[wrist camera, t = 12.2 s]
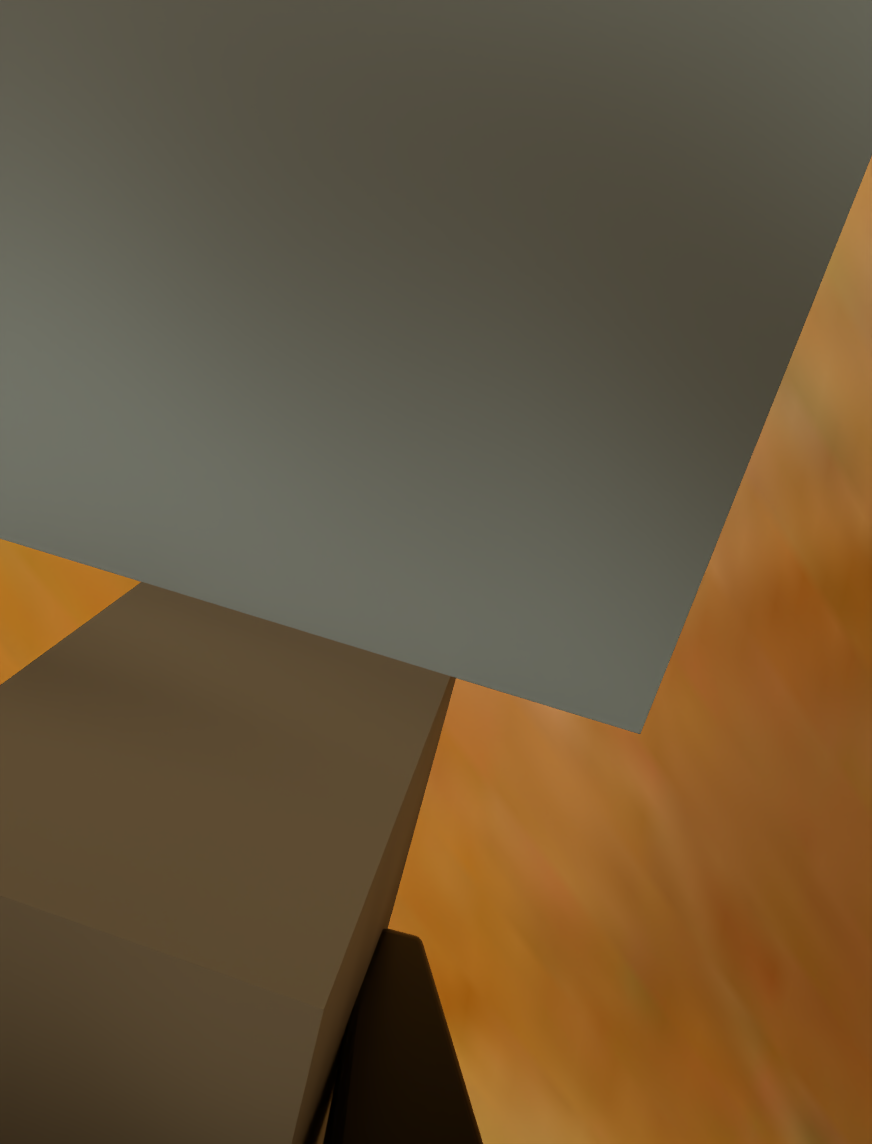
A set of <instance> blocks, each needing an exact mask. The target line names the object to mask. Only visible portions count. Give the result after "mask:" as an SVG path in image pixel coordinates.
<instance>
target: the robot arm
mask: <svg viewBox="0 0 872 1144" xmlns="http://www.w3.org/2000/svg"><path fill="white" fill-rule="evenodd" d="M323 1144H483V1142H482V1139H481V1135H480V1132H479V1129H478V1125H477V1122H476V1119H475V1115H474V1112H473V1109H472V1105H471V1102H470V1099H469V1095H468V1092H467V1089H466V1085H465V1082H464V1079H463V1076H462V1072H461V1069H460V1066H459V1062H458V1059H457V1056H456V1052H455V1049H454V1046H453V1042H452V1039H451V1036H450V1032H449V1029H448V1026H447V1022H446V1019H445V1016H444V1012H443V1009H442V1006H441V1002H440V999H439V996H438V992H437V989H436V986H435V982H434V979H433V976H432V972H431V969H430V966H429V962H428V959H427V956H426V952H425V949H424V946H423V943H422V941H421V939H420V938H419V937H417V936H414V935H410V934H406V933H403V932H399V931H395V930H391V929H386V928H385V929H383V930H382V933H381V935H380V938H379V940H378V943H377V946H376V948H375V951H374V954H373V956H372V959H371V962H370V964H369V967H368V969H367V972H366V975H365V977H364V980H363V983H362V985H361V988H360V990H359V993H358V996H357V998H356V1001H355V1004H354V1006H353V1009H352V1012H351V1015H350V1017H349V1020H348V1023H347V1026H346V1029H345V1034H344V1039H343V1044H342V1049H341V1054H340V1059H339V1064H338V1069H337V1074H336V1080H335V1085H334V1090H333V1095H332V1100H331V1105H330V1110H329V1115H328V1121H327V1126H326V1131H325V1136H324V1141H323Z"/></svg>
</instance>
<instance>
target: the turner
mask: <svg viewBox="0 0 872 1144" xmlns="http://www.w3.org/2000/svg"><path fill="white" fill-rule="evenodd" d="M871 156H872V0H0V539H4V540H7V541H10V542H13V543H17V544H20V545H23V546H26V547H30V548H33V549H36V550H40V551H43V552H46V553H49V554H53V555H56V556H59V557H62V558H66V559H69V560H72V561H76V562H79V563H82V564H85V565H89V566H92V567H95V568H98V569H102V570H105V571H108V572H112V573H115V574H118V575H121V576H125V577H128V578H131V579H134V580H138V581H141V583H140V584H138V585H137V586H135V587H134V588H133V589H131V590H130V591H129V592H127V593H126V594H125V595H123V596H122V597H120V598H119V599H118V600H116V601H115V602H114V603H112V604H111V605H109V606H108V607H107V608H105V609H104V610H103V611H101V612H100V613H98V614H97V615H96V616H94V617H93V618H92V619H90V620H89V621H88V622H86V623H85V624H83V625H82V626H81V627H79V628H78V629H77V630H75V631H74V632H72V633H71V634H70V635H68V636H67V637H66V638H64V639H63V640H62V641H60V642H59V643H57V644H56V645H55V646H53V647H52V648H51V649H49V650H48V651H46V652H45V653H44V654H42V655H41V656H40V657H38V658H37V659H35V660H34V661H33V662H31V663H30V664H29V665H27V666H26V667H25V668H23V669H22V670H20V671H19V672H18V673H16V674H15V675H14V676H12V677H11V678H9V679H8V680H7V681H5V682H4V683H3V684H1V685H0V1144H323V1141H324V1136H325V1131H326V1126H327V1121H328V1115H329V1110H330V1105H331V1100H332V1095H333V1090H334V1085H335V1080H336V1074H337V1069H338V1064H339V1059H340V1054H341V1049H342V1044H343V1039H344V1034H345V1029H346V1026H347V1023H348V1020H349V1017H350V1015H351V1012H352V1009H353V1006H354V1004H355V1001H356V998H357V996H358V993H359V990H360V988H361V985H362V983H363V980H364V977H365V975H366V972H367V969H368V967H369V964H370V962H371V959H372V956H373V954H374V951H375V948H376V946H377V943H378V940H379V938H380V935H381V933H382V930H383V929H385V928H386V929H387V928H388V925H389V921H390V917H391V914H392V910H393V906H394V903H395V899H396V895H397V892H398V888H399V884H400V881H401V877H402V873H403V870H404V866H405V862H406V859H407V855H408V851H409V848H410V844H411V840H412V837H413V833H414V829H415V826H416V822H417V818H418V815H419V811H420V807H421V804H422V800H423V797H424V793H425V789H426V786H427V782H428V778H429V775H430V771H431V767H432V764H433V760H434V756H435V753H436V749H437V745H438V742H439V738H440V734H441V731H442V727H443V723H444V720H445V716H446V712H447V709H448V705H449V701H450V698H451V694H452V690H453V687H454V683H455V679H456V678H458V679H461V680H465V681H468V682H471V683H475V684H478V685H481V686H484V687H488V688H491V689H494V690H497V691H501V692H504V693H507V694H511V695H514V696H517V697H520V698H524V699H527V700H530V701H533V702H537V703H540V704H543V705H547V706H550V707H553V708H556V709H560V710H563V711H566V712H569V713H573V714H576V715H579V716H583V717H586V718H589V719H592V720H596V721H599V722H602V723H605V724H609V725H612V726H615V727H618V728H622V729H625V730H628V731H632V732H635V733H638V734H640V733H641V731H642V728H643V726H644V723H645V721H646V718H647V716H648V713H649V711H650V708H651V706H652V703H653V701H654V698H655V696H656V693H657V691H658V688H659V686H660V683H661V681H662V678H663V676H664V673H665V671H666V668H667V666H668V663H669V661H670V658H671V656H672V653H673V651H674V648H675V646H676V643H677V641H678V638H679V636H680V633H681V631H682V628H683V626H684V623H685V621H686V618H687V616H688V613H689V611H690V608H691V606H692V603H693V601H694V598H695V596H696V593H697V591H698V588H699V586H700V583H701V581H702V578H703V576H704V573H705V571H706V568H707V566H708V563H709V561H710V558H711V556H712V553H713V551H714V548H715V546H716V543H717V541H718V538H719V536H720V533H721V531H722V528H723V526H724V523H725V521H726V518H727V516H728V513H729V511H730V508H731V506H732V503H733V501H734V498H735V496H736V493H737V491H738V488H739V486H740V483H741V481H742V478H743V476H744V473H745V471H746V468H747V466H748V463H749V461H750V458H751V456H752V453H753V451H754V448H755V446H756V443H757V441H758V438H759V436H760V433H761V431H762V428H763V426H764V423H765V421H766V418H767V416H768V413H769V411H770V408H771V406H772V403H773V401H774V398H775V396H776V393H777V391H778V388H779V386H780V383H781V381H782V378H783V376H784V373H785V371H786V368H787V366H788V363H789V361H790V358H791V356H792V353H793V351H794V348H795V346H796V343H797V341H798V338H799V336H800V333H801V331H802V328H803V326H804V323H805V321H806V318H807V316H808V313H809V311H810V308H811V306H812V303H813V301H814V298H815V296H816V293H817V291H818V288H819V286H820V283H821V281H822V278H823V276H824V273H825V271H826V268H827V266H828V263H829V261H830V258H831V256H832V253H833V251H834V248H835V246H836V243H837V241H838V238H839V236H840V233H841V231H842V228H843V226H844V223H845V221H846V218H847V216H848V213H849V211H850V208H851V206H852V203H853V201H854V198H855V196H856V193H857V191H858V188H859V186H860V183H861V181H862V178H863V176H864V174H865V171H866V169H867V166H868V164H869V161H870V159H871Z"/></svg>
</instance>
